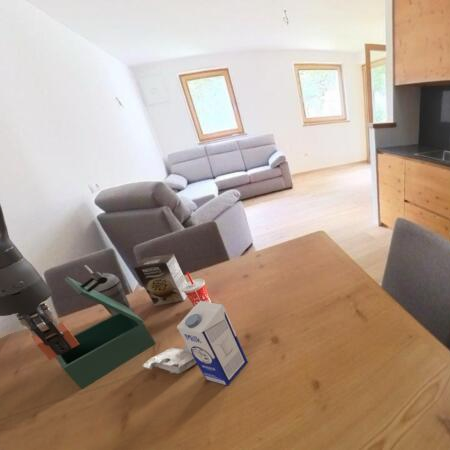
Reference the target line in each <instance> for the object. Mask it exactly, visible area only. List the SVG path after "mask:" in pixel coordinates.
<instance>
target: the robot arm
mask: <svg viewBox="0 0 450 450" xmlns="http://www.w3.org/2000/svg"><path fill="white" fill-rule="evenodd" d="M8 231H9V230H8V225H7V223H6V220H5V215H4V211H3V207H2V205H1V203H0V317H6V316H7V317H8V316H12V315H15V317H16V318H17V321H18V322H19V323H20V325H21V326H22V327H26V328H27V329H28V331H29V332H30V333H31V334H32V336H33V335H34V336H38V337H39V338H40V339H41V340H42V341H43V344H44V345H46V346H48V345H49V346H50V348H51V349H52V350H53V351H54V352H55V353H56V355H61V354H63V353H65V352H67V351H69V350H70V349H71V348H72V347H71V346H70V345H69V343H68V342H67V341H66V340H65V338H64V335H63V333H61V332H60V331H59V330H58V329H57V327H58V326H59V323H58V320H56V319H55V317H54V316H53V312H52V311H51V310H50V308H49V307H48V305H47V304H46V303H45V302H46V301H47V300H48V299H50V297H51V296H52V294H53V291H52V289H51V287H50V286H49V285H48V284H47V282H46V281H45V280H44V278H43V277H42V276H41V275H40V272H39V271H38V270H37V269H36V268H35V267H34V265H33V264H32V263H31V262H30V261H29V260H28V259H26V258H25V256H24V255H23V254H22V252H21V251H20V250H19V249H18V247H17V246H16V245H15V244H14V242H13V241H12V239H11V238H10V235H9V232H8ZM55 333H56V334H55ZM52 334H54V335H52ZM50 335H51V336H50ZM48 336H49V337H48ZM46 337H47V338H46Z"/></svg>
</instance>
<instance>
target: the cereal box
mask: <svg viewBox="0 0 450 450" xmlns="http://www.w3.org/2000/svg"><path fill="white" fill-rule="evenodd" d="M133 270H134V272H135V273H136V275H137V277H138V278H139V280H140V283H141V284H142V286H143V287H144V289H145V291H146V293H147V294H148V296H149V298H150V300H151V302H152V303H153V305H154V306H155V307H158V306H163V305H168V304H173V303H179V302H184V301H185V300H186V299H187V298H188V297H187V295H186V293H185V292H183V290H182V287H183V285H184V284H186V283H187V282H188V281H187V280H186V277H185V276H184V274H183V272H182V268H181V267H180V265H179V263H178V260H177V258H176V256H175V254H174V253H168V254H161V255H155V256H149V257H148V256H147V257H142V259H141V260H140V261H138V262H137V263H136V264H135V265H134V266H133Z"/></svg>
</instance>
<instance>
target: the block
mask: <svg viewBox="0 0 450 450" xmlns="http://www.w3.org/2000/svg"><path fill="white" fill-rule="evenodd" d="M58 324H59V326H58V327H57V329H58V330H59V331H60V332H61V333H63V335H64V338H65V340H66V341H67V342H68V343H69V345H70V346H71V347H72V348H73V347H75V346H77V345H79V343H78V341H77V340H76V339H75V338H74V336H73V335H74V334H73V333H72V332H71V331H70V329H68V327H67V326H66V325H65V323H64V322H63V321H61V322H60V323H58ZM55 334H56V333H55ZM52 335H54V334H52ZM50 336H51V335H50ZM48 337H49V336H48ZM31 338H32V340H33V341H34V343H35V345H36V346H37V347H38V349H39V350H40V351H41V352H42V353H43V354H44V355H45V356H46V358H47V359H48V360H52V359H54V358H56V356H58V355H56V353H55V352H54V351H53V350H52V349H51V348H50V346H49V345H48V346H46V345H44V344H43V341H42V340H41V339H40V338H39V337H38V336H34V335H33V334H32V336H31ZM46 338H47V337H46ZM72 348H71V349H72Z"/></svg>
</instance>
